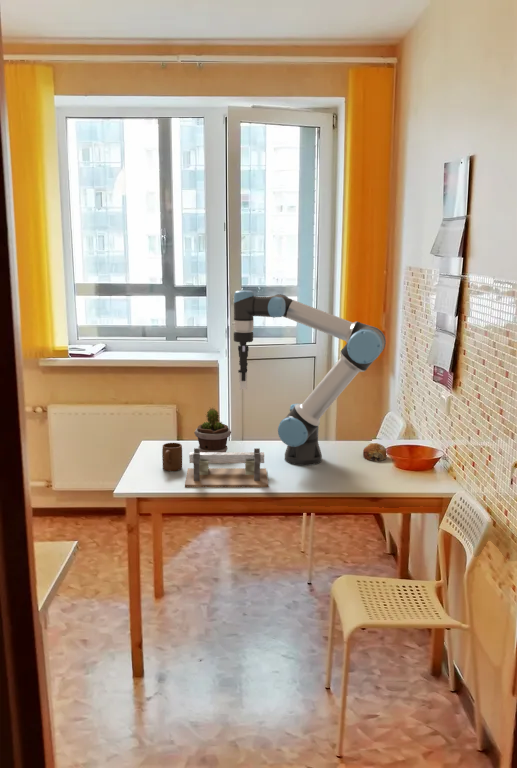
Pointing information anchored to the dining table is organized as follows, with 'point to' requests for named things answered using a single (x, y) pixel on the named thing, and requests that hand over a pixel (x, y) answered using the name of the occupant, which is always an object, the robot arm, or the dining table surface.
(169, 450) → the mug
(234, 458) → the rail
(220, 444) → the flowerpot
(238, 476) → the rack
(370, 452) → the bread roll
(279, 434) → the robot arm
